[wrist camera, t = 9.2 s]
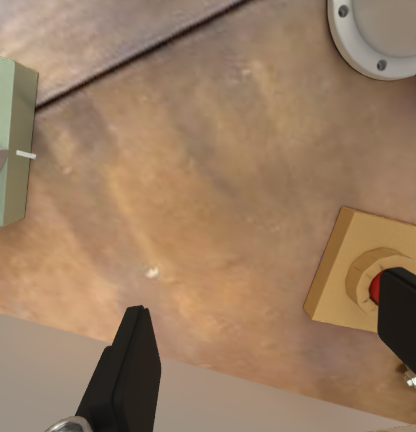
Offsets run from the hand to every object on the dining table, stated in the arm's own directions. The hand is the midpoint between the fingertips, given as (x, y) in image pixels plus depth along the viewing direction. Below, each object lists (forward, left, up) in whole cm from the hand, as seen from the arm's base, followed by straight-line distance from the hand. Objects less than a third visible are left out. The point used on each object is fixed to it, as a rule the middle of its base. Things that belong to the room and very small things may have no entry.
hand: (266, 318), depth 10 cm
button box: (+2, +17, -16) cm, 23 cm away
